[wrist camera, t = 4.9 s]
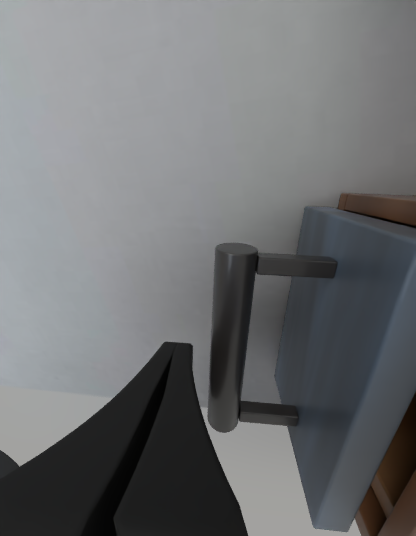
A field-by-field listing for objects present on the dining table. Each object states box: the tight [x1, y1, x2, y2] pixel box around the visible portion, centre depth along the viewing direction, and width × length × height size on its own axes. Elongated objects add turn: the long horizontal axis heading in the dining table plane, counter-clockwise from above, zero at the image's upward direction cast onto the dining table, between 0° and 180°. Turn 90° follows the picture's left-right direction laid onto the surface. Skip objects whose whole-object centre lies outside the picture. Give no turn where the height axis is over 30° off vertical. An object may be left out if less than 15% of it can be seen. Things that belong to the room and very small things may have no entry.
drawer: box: [208, 206, 416, 532], centre depth 9 cm, size 14×10×7 cm
